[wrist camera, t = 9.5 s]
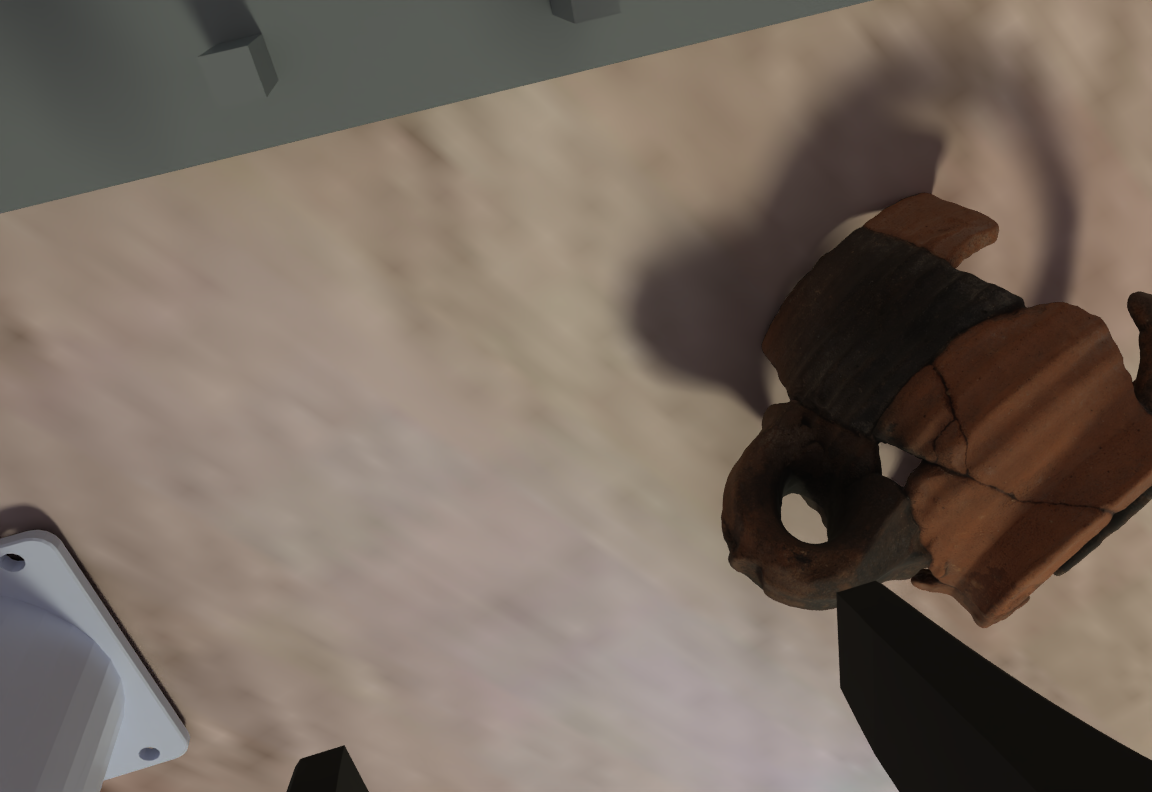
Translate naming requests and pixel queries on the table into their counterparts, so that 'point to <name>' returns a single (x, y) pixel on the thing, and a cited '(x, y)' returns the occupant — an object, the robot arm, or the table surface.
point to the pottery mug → (938, 425)
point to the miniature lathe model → (291, 71)
